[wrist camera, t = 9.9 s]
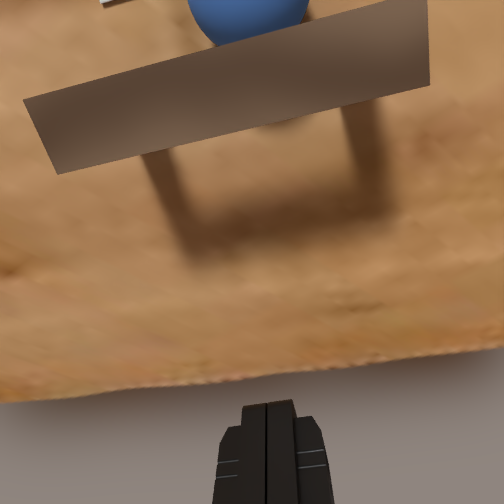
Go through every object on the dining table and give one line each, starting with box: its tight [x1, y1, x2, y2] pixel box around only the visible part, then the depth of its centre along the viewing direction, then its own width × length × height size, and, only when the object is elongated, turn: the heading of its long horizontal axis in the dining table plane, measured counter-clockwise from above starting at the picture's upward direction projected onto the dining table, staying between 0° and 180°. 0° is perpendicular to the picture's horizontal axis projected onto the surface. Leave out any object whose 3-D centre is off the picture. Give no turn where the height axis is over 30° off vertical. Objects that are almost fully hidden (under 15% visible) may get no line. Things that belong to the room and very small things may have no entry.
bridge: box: [23, 0, 430, 175], centre depth 19 cm, size 3×15×10 cm, turn 103°
